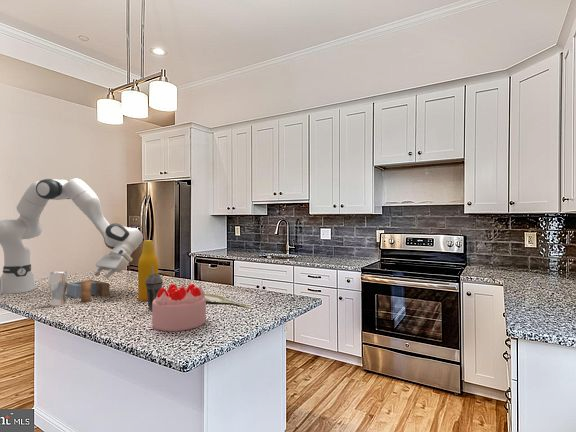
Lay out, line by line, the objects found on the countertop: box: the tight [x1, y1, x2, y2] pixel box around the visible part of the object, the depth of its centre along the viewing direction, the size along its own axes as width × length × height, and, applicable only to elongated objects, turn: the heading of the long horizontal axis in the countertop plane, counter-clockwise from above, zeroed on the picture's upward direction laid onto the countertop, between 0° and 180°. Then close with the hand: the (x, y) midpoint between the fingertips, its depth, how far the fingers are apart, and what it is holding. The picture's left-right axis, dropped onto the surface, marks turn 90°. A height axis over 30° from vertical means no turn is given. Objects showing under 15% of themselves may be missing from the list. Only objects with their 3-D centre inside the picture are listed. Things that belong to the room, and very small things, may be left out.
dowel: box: [80, 279, 92, 303], centre depth 165 cm, size 4×4×10 cm
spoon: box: [204, 293, 253, 309], centre depth 163 cm, size 35×11×2 cm, turn 60°
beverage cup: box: [145, 264, 164, 311], centre depth 153 cm, size 7×7×20 cm
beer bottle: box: [137, 239, 159, 302], centre depth 170 cm, size 9×9×29 cm
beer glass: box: [48, 270, 68, 307], centre depth 159 cm, size 7×7×15 cm
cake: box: [151, 283, 207, 332], centre depth 132 cm, size 20×20×14 cm
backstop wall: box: [90, 279, 110, 297], centre depth 183 cm, size 20×3×6 cm, turn 56°
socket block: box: [66, 281, 98, 299], centre depth 179 cm, size 10×10×6 cm
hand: (100, 276), depth 171 cm, fingers open, 8 cm apart
